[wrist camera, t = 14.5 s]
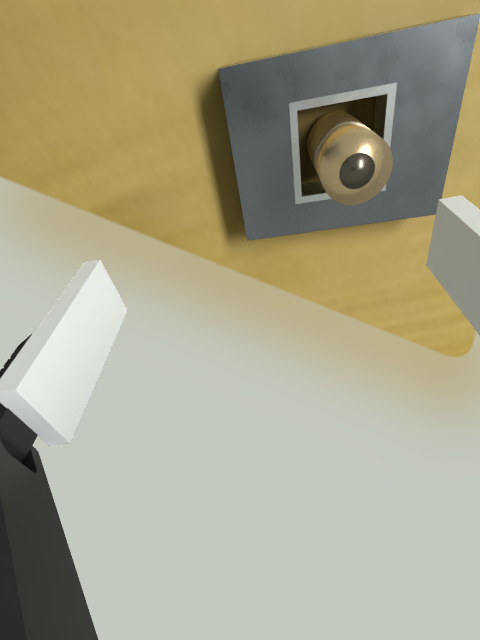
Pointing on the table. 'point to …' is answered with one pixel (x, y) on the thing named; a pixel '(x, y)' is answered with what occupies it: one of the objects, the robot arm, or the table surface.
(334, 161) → the brass domed cylinder
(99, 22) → the table surface
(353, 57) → the plate
